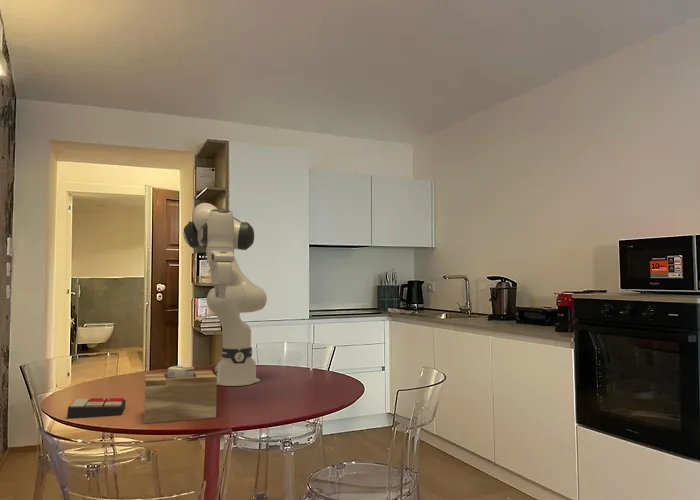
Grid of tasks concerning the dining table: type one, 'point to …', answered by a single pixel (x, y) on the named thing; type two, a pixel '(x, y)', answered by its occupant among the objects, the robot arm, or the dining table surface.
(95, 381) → the dining table surface
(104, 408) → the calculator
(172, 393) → the posting box
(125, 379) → the dining table surface
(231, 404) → the dining table surface
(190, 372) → the syrup box
